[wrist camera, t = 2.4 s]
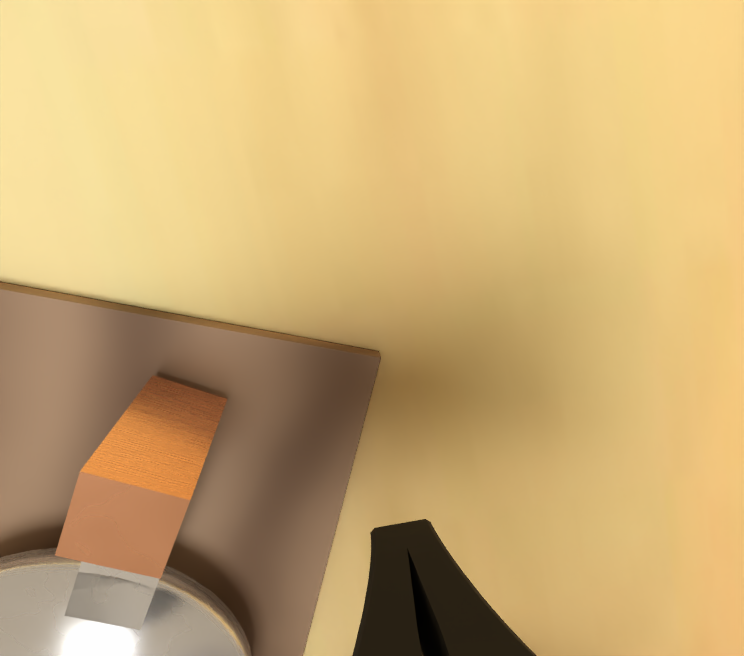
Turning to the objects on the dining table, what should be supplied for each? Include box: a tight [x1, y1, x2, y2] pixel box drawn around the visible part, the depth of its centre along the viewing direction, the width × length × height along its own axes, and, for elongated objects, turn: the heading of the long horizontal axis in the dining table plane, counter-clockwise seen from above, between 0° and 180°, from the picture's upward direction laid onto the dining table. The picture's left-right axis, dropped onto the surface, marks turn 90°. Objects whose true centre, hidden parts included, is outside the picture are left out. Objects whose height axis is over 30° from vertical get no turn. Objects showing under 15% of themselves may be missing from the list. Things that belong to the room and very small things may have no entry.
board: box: [0, 282, 381, 656], centre depth 18 cm, size 18×22×2 cm
